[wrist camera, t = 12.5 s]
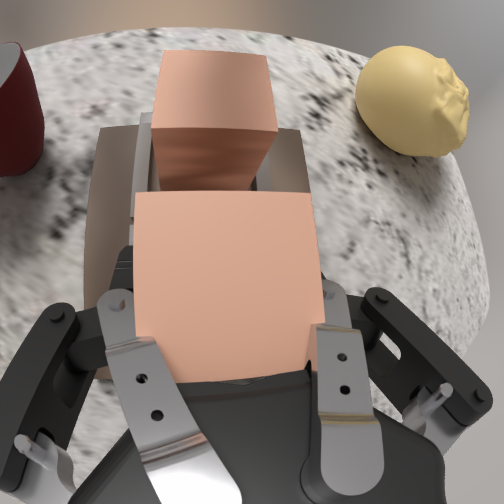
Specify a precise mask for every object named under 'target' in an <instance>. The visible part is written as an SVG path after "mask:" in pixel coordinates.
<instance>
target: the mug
mask: <svg viewBox="0 0 504 504" xmlns="http://www.w3.org/2000/svg"><path fill="white" fill-rule="evenodd" d="M44 128H45V127H44V117H43V112H42V109H41V105H40V101H39V97H38V93H37V89H36V85H35V80H34V76H33V73H32V70H31V67H30V65H29V63H28V60H27V58H26V56H25V54H24V52H23V50H22V48H21V46H20V45H19V44H18V43H16V42H7V43H4V44H0V177H7V176H16V175H21V174H24V173H26V172H27V171H29V170H30V169H31V168H32V167H33V166H34V165H35V164H36V163H37V161H38V160H39V158H40V156H41V153H42V149H43V141H44Z"/></svg>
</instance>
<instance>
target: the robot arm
mask: <svg viewBox="0 0 504 504" xmlns="http://www.w3.org/2000/svg"><path fill="white" fill-rule="evenodd" d="M321 280H322V290H323V301H324V313H325V323H318V324H311V328H310V334H309V340H308V346H307V352H306V358H305V364H304V370H298V371H292V372H286V373H279V374H275V375H272V376H270V377H267V378H265V379H262V380H259V381H257V382H254V383H251V384H248V385H233V384H225V383H217V382H210V381H206V382H189V383H175V382H174V380H173V378H172V376H171V373H170V371H169V369H168V367H167V365H166V363H165V361H164V358H163V356H162V354H161V352H160V349H159V347H158V345H157V343H156V340H155V339H154V337H151V336H143V337H136V328H135V311H134V285H133V245H127V246H125V247H124V248H123V249H122V250H121V251H120V252H119V255H118V259H117V262H116V265H115V269H114V273H113V276H112V280H111V284H110V288H109V291H107V292H106V293H104V294H103V295H102V296H101V297H100V298H99V299H98V302H97V306H95V307H93V308H90V309H86V310H83V311H79V312H75V309H74V308H73V306H72V305H70V304H68V303H55V304H53V305H51V306H49V307H47V308H46V309H45V310H44V311H43V312H42V314H41V315H40V317H39V318H38V320H37V321H36V323H35V324H34V326H33V327H32V329H31V330H30V332H29V333H28V335H27V336H26V338H25V340H24V341H23V343H22V344H21V346H20V348H19V349H18V351H17V353H16V354H15V356H14V358H13V359H12V361H11V363H10V365H9V366H8V368H7V370H6V372H5V373H4V375H3V377H2V379H1V381H0V491H2V492H4V493H6V494H8V495H11V496H13V497H15V498H18V499H20V500H22V501H23V502H25V503H27V504H447V503H446V497H445V482H444V480H445V464H444V460H443V455H444V454H445V453H446V452H447V451H448V450H449V448H450V447H451V446H452V445H453V444H454V442H455V441H456V440H457V439H458V438H459V436H460V435H461V434H462V432H463V431H465V430H466V429H467V428H469V427H470V426H471V425H472V424H474V423H475V422H476V421H477V420H479V419H480V418H481V417H482V416H483V415H484V414H486V413H487V412H488V411H489V410H490V409H491V407H492V404H493V398H492V394H491V391H490V389H489V388H488V387H487V386H486V384H485V383H484V382H483V381H482V380H481V379H480V378H479V377H478V376H477V375H476V374H475V373H474V372H473V371H472V370H471V369H470V368H469V367H468V366H467V365H466V364H465V362H464V361H463V360H462V359H461V358H460V357H459V356H458V355H457V354H456V353H455V352H454V351H453V350H452V349H451V348H450V347H449V346H448V345H446V344H445V343H444V342H443V341H442V340H441V339H440V338H439V337H438V336H437V335H436V334H435V333H434V332H433V331H432V330H431V329H430V328H429V327H428V326H427V325H426V324H425V323H424V322H422V321H421V320H420V319H419V318H418V317H417V316H416V315H415V314H414V313H413V312H412V311H411V310H410V309H408V308H407V307H406V306H405V305H404V304H403V303H402V302H401V301H400V300H399V299H397V298H396V297H395V296H394V295H393V294H392V293H391V292H389V291H387V290H385V289H383V288H378V287H373V288H370V289H368V290H367V291H366V293H365V296H364V297H360V296H353V295H347V294H346V292H345V290H344V289H343V288H342V287H341V286H340V285H339V284H337V283H336V282H333V281H330V280H326V278H325V277H324V275H323V273H322V272H321ZM383 332H384V333H385V334H386V335H387V336H388V337H389V338H390V339H391V340H392V341H393V342H394V343H395V344H396V345H397V346H398V348H399V349H400V352H401V358H400V360H398V359H397V358H396V356H395V355H394V354H393V353H392V352H391V351H390V350H389V349H388V348H387V347H386V346H385V345H384V344H383V343H382V342H381V341H380V340H379V339H380V338H381V336H382V334H383ZM105 366H109V369H110V372H111V376H112V379H113V382H114V386H115V389H116V392H117V395H118V398H119V401H120V404H121V407H122V410H123V413H124V415H125V418H126V421H127V424H128V426H129V428H128V429H127V430H126V432H125V433H124V434H123V435H122V437H121V438H120V439H119V440H118V441H117V443H116V444H115V445H114V446H113V447H112V449H111V450H110V451H109V452H108V453H107V455H106V456H105V457H104V458H103V459H102V461H101V462H100V463H99V464H98V465H97V467H96V468H95V469H94V470H93V471H92V472H91V474H90V475H89V476H88V477H87V478H86V480H85V481H84V482H83V483H82V484H81V486H80V487H79V488H78V489H76V487H75V485H74V482H73V470H74V468H73V462H72V459H71V457H70V456H69V454H68V453H67V452H66V450H67V447H68V444H69V441H70V438H71V435H72V433H73V430H74V427H75V424H76V421H77V419H78V416H79V414H80V411H81V408H82V406H83V403H84V401H85V398H86V396H87V393H88V391H89V388H90V386H91V383H92V381H93V379H94V376H95V374H96V372H97V369H98V368H102V367H105ZM369 377H370V379H371V380H372V381H373V382H374V383H375V384H376V386H377V387H378V388H379V389H380V390H381V391H382V393H383V394H384V395H385V396H386V397H387V398H388V399H389V401H390V402H391V403H392V404H393V405H394V406H395V408H396V409H397V410H398V411H399V412H400V413H401V415H402V419H403V422H402V423H399V422H397V421H396V420H394V419H392V418H391V417H389V416H387V415H385V414H384V413H382V412H380V411H379V410H377V409H375V408H374V407H373V406H372V398H371V390H370V383H369Z"/></svg>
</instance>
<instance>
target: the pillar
mask: <svg viewBox="0 0 504 504" xmlns="http://www.w3.org/2000/svg"><path fill="white" fill-rule="evenodd" d="M133 285H134V311H135V328H136V337H143V336H151V337H154V339H155V340H156V343H157V345H158V347H159V349H160V352H161V354H162V356H163V358H164V361H165V363H166V365H167V367H168V369H169V371H170V373H171V376H172V378H173V380H174V382H175V383H189V382H206V381H210V382H213V381H225V380H235V379H245V378H253V377H261V376H269V375H275V374H279V373H286V372H292V371H298V370H304V364H305V358H306V352H307V346H308V340H309V334H310V328H311V324H318V323H325V313H324V301H323V290H322V280H321V270H320V261H319V252H318V244H317V236H316V228H315V221H314V214H313V207H312V200H311V193H297V192H270V191H162V192H136V194H135V210H134V236H133Z"/></svg>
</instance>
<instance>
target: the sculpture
mask: <svg viewBox="0 0 504 504" xmlns="http://www.w3.org/2000/svg"><path fill="white" fill-rule="evenodd" d="M355 96H356V105H357V108H358V111H359V113H360V115H361V117H362V119H363V120H364V122H365V123H366V125H367V126H368V127H369V129H370V130H371V131H372V132H373V133H374V134H375V135H376V137H377V138H378V139H379V140H381V141H382V142H383V143H384V144H385V145H386V146H388V147H389V148H391V149H392V150H394V151H396V152H398V153H401V154H404V155H409V156H431V157H434V158H438V157H440V156H445V155H447V154H448V153H449V152H451V151H453V150H455V149H458V148H460V147H461V145H462V144H463V142H464V141H465V139H466V133H467V123H468V120H469V114H470V105H469V102H468V96H469V94H468V89H467V88H466V87H465V85H464V83H463V82H462V81H460V79H459V78H458V77H457V76H456V74H455V72H454V70H453V69H452V68H451V67H450V65H449V64H448V63H447V61H446V60H445V59H444V58H436V57H434V56H433V55H431V54H429V53H427V52H425V51H423V50H421V49H417V48H415V47H409V46H395V47H390V48H387V49H385V50H382V51H381V52H379V53H377V54H376V55H375V56H373V57H372V58H371V59H370V60H369V61H368V62H367V64H366V65H365V66H364V68H363V69H362V71H361V73H360V75H359V78H358V81H357V85H356V94H355Z"/></svg>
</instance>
